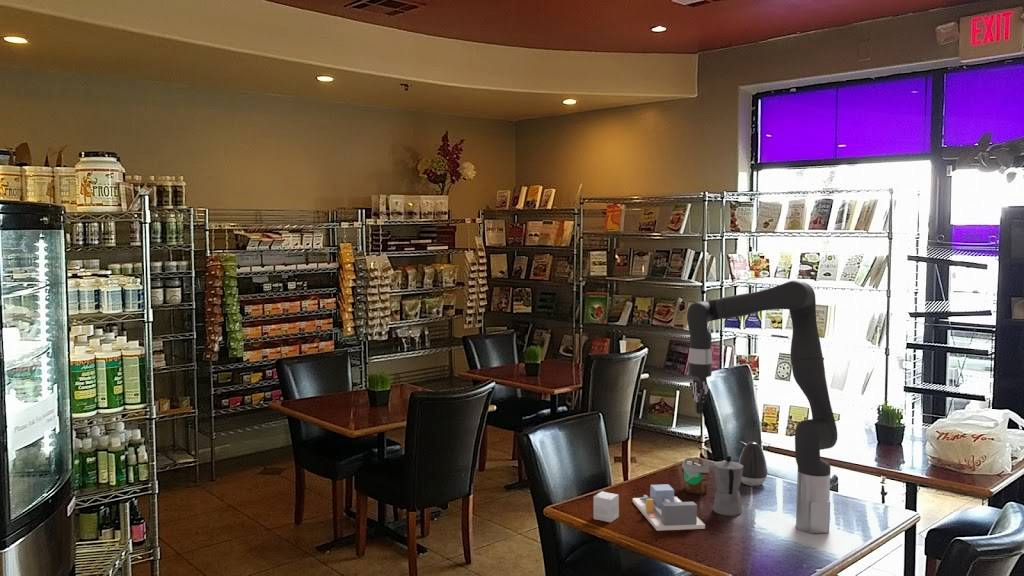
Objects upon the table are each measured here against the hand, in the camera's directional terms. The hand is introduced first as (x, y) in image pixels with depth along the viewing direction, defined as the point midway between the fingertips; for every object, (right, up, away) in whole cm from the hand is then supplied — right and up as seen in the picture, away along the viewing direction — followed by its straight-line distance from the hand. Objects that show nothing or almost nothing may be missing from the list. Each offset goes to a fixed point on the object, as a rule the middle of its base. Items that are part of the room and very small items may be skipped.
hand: (698, 413), depth 264 cm
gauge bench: (-13, -30, -14) cm, 36 cm away
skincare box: (-33, -30, -17) cm, 48 cm away
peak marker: (-19, -29, -16) cm, 38 cm away
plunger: (-16, -28, -11) cm, 34 cm away
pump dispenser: (+23, -28, +18) cm, 41 cm away
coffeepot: (+7, -30, -11) cm, 33 cm away
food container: (0, -29, +10) cm, 30 cm away
